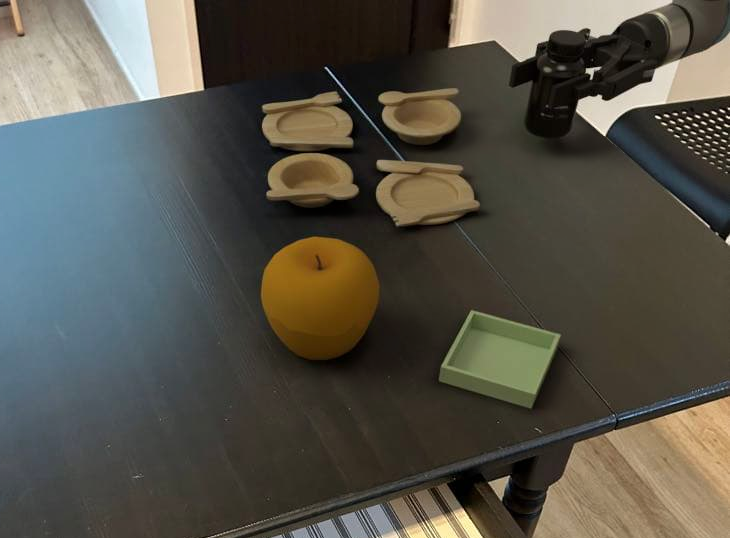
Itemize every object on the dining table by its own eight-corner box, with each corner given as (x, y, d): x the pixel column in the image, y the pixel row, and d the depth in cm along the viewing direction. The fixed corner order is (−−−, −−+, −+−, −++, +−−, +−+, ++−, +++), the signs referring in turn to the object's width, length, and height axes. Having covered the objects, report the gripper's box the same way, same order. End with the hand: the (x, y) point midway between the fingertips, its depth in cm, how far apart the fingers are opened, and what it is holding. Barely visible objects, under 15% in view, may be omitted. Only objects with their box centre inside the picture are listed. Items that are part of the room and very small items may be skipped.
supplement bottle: (545, 145, 115) (565, 53, 105) (513, 124, 118) (529, 33, 109) (581, 131, 117) (604, 40, 107) (549, 112, 121) (568, 21, 111)
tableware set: (263, 106, 127) (261, 78, 124) (451, 103, 128) (454, 75, 125) (259, 239, 107) (257, 210, 103) (484, 235, 107) (489, 206, 104)
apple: (248, 322, 97) (240, 236, 88) (348, 294, 100) (350, 208, 91) (290, 392, 90) (287, 306, 81) (396, 359, 93) (404, 273, 84)
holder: (555, 351, 94) (561, 334, 92) (530, 411, 88) (535, 394, 86) (468, 327, 96) (471, 309, 94) (438, 383, 91) (440, 366, 89)
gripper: (693, 96, 117) (579, 145, 109) (590, 46, 126) (478, 87, 118) (713, 38, 111) (593, 86, 103) (603, -10, 120) (486, 30, 112)
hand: (532, 87), depth 110 cm, fingers closed on supplement bottle, 7 cm apart
